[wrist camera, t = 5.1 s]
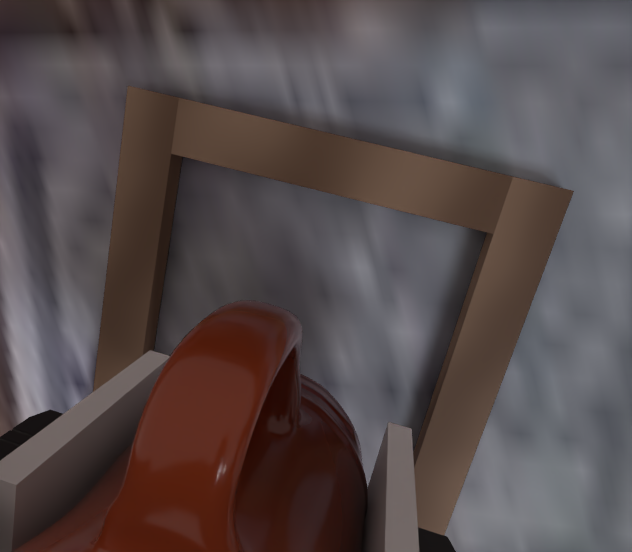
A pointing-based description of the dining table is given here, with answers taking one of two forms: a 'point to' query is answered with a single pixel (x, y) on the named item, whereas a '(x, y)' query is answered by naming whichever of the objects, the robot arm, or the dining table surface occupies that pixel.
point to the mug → (228, 454)
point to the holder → (356, 183)
